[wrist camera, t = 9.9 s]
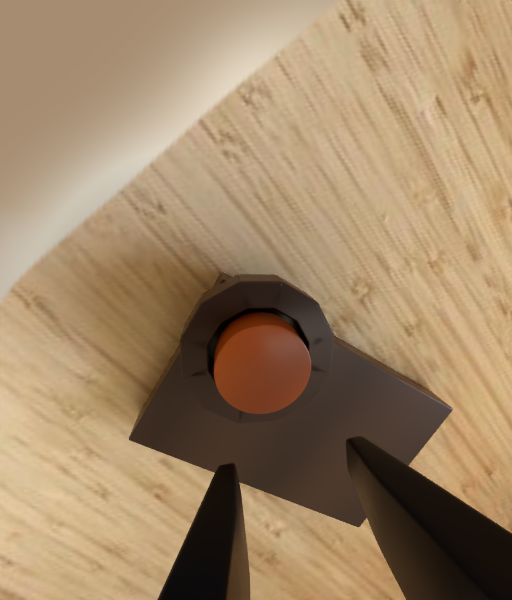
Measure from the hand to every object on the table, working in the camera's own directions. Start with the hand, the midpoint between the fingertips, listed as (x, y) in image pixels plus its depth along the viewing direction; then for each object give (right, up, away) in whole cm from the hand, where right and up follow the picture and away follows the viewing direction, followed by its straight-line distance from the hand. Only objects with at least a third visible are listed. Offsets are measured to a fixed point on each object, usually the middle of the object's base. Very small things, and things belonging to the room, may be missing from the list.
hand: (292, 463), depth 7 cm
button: (-1, +2, +6) cm, 6 cm away
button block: (+1, -2, +11) cm, 12 cm away
